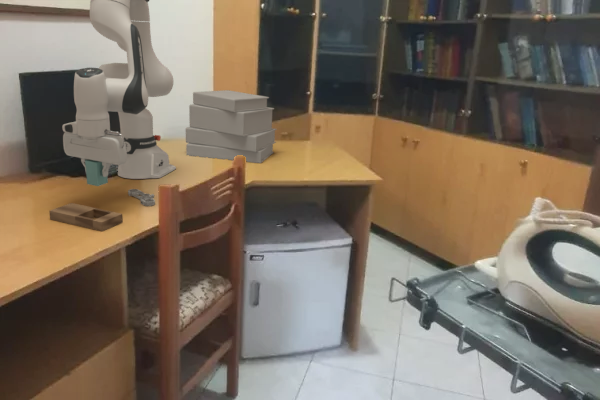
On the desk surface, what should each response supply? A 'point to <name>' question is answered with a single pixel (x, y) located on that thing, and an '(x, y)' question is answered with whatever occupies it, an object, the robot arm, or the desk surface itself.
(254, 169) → the desk surface
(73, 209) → the brown frame
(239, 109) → the book stack
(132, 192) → the bracket
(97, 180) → the teal square prism
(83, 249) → the desk surface
